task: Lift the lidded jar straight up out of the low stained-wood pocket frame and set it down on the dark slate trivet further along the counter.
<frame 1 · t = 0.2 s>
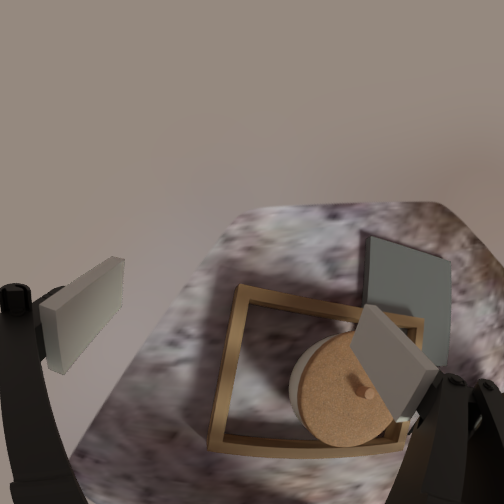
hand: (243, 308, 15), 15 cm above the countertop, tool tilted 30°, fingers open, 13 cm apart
trivet: (409, 307, 33), on the countertop
lidded jar: (322, 381, 29), resting in pocket frame
pocket frame: (323, 381, 29), on the countertop
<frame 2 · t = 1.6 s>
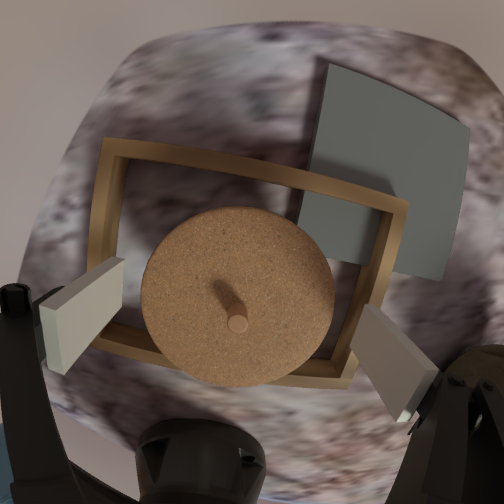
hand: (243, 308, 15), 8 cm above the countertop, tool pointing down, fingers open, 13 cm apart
trivet: (392, 178, 22), on the countertop
lidded jar: (237, 268, 23), resting in pocket frame
pocket frame: (237, 269, 23), on the countertop
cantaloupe: (454, 374, 27), on the countertop
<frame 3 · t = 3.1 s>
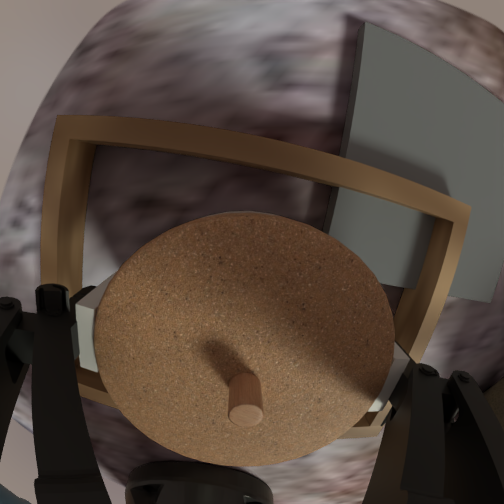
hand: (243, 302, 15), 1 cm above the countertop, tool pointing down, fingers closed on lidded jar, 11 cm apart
trivet: (444, 174, 15), on the countertop
lidded jar: (242, 294, 17), resting in pocket frame, touching gripper
pocket frame: (242, 295, 16), on the countertop
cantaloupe: (484, 400, 21), on the countertop
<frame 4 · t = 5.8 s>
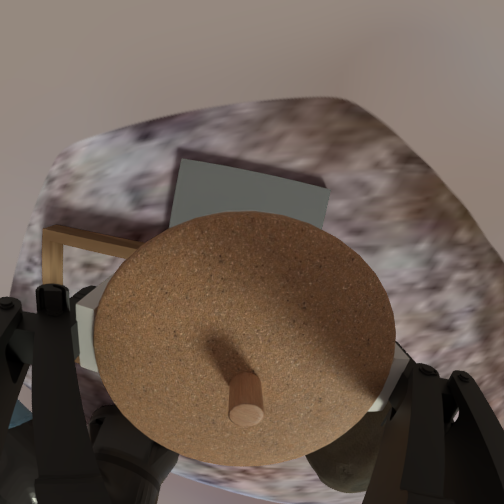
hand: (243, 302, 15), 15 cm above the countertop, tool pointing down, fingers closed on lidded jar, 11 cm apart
trivet: (241, 244, 30), on the countertop
lidded jar: (243, 294, 17), point 14 cm above the countertop, touching gripper
pocket frame: (132, 309, 31), on the countertop
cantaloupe: (341, 399, 36), on the countertop
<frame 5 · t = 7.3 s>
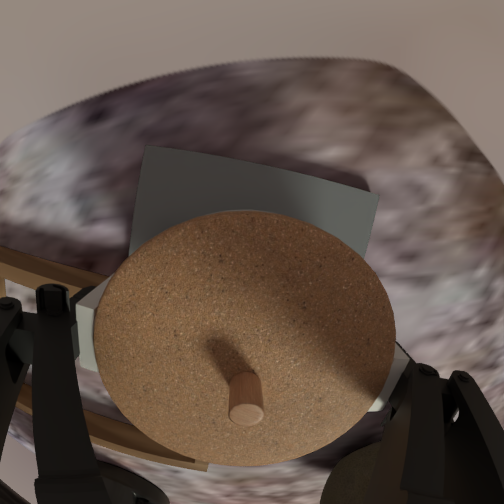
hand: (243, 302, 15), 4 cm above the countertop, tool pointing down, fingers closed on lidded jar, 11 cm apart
trivet: (241, 279, 19), on the countertop
lidded jar: (243, 293, 17), point 3 cm above the countertop, touching gripper
pocket frame: (92, 361, 21), on the countertop
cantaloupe: (365, 455, 25), on the countertop
when the fingers open (4 cm above the countertop, at t = 8.4 s): lidded jar stays where it is, resting on pocket frame.
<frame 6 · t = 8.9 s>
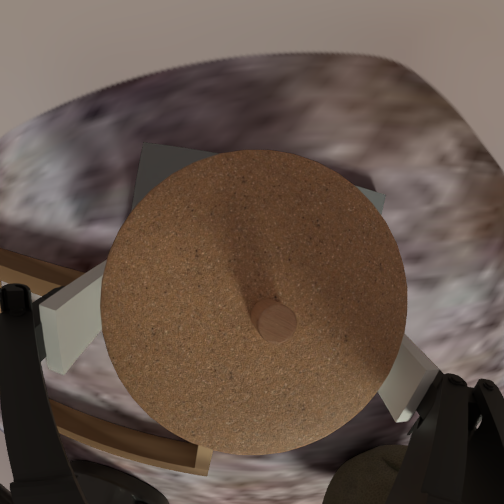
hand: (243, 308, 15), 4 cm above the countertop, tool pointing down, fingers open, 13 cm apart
trivet: (242, 281, 19), on the countertop
lidded jar: (243, 295, 17), point 2 cm above the countertop, touching pocket frame
pocket frame: (90, 364, 20), on the countertop
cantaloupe: (367, 458, 25), on the countertop
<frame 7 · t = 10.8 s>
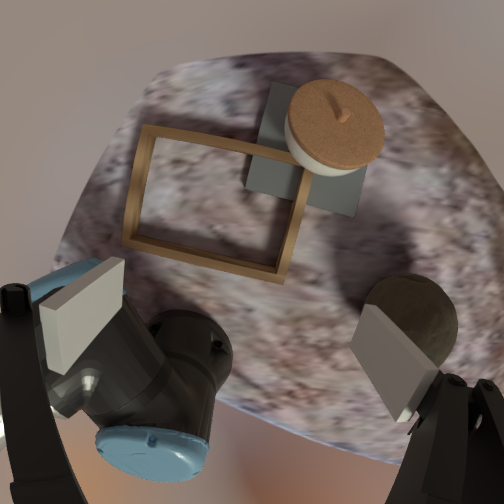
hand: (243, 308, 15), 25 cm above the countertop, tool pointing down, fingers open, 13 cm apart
trivet: (313, 148, 36), on the countertop
lidded jar: (317, 147, 34), point 2 cm above the countertop, touching pocket frame, trivet
pocket frame: (214, 200, 38), on the countertop
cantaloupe: (385, 304, 42), on the countertop
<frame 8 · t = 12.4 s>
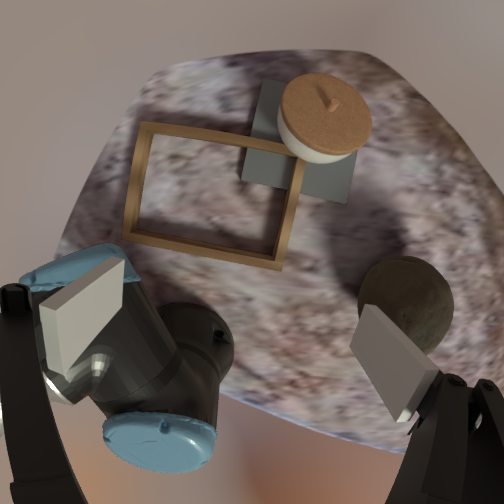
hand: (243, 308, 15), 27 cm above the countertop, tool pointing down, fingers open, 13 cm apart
trivet: (304, 140, 38), on the countertop
lidded jar: (308, 138, 36), point 2 cm above the countertop, touching pocket frame, trivet
pocket frame: (212, 193, 39), on the countertop
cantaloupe: (381, 289, 44), on the countertop
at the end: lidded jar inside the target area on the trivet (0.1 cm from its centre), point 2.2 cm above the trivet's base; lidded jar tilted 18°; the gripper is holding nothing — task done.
